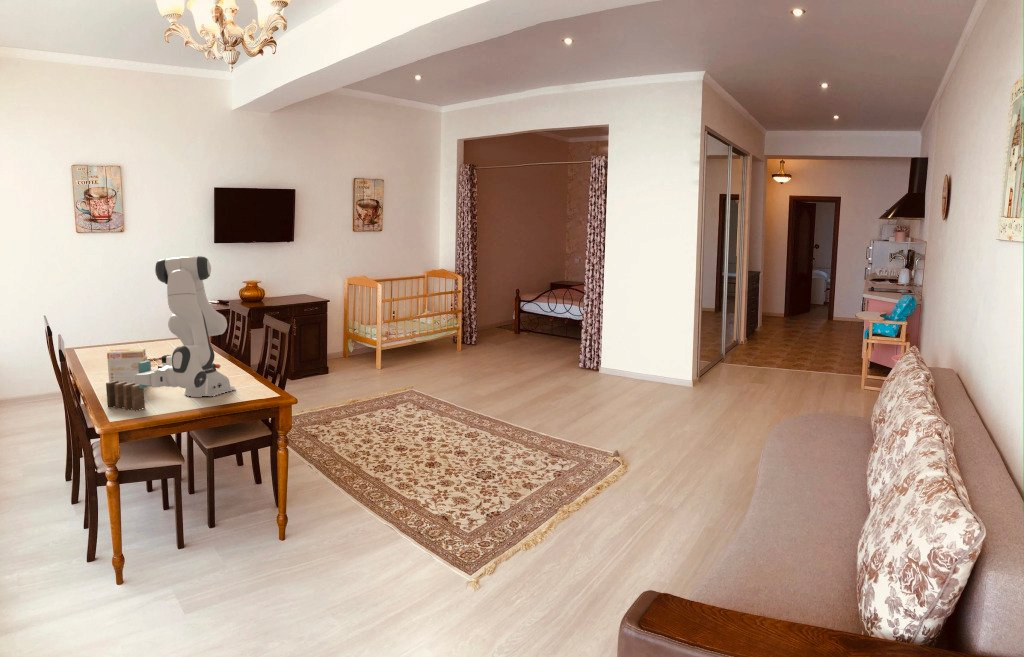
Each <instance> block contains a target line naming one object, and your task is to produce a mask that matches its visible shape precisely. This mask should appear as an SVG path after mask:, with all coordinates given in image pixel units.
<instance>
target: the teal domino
mask: <svg viewBox="0 0 1024 657" xmlns="http://www.w3.org/2000/svg"><path fill="white" fill-rule="evenodd" d="M151 363H152V362H151V360H149V361H144V362H140V363H138V369H139V372H140V373H143V372H147V371H151V369H152V367H151V366H152V364H151ZM139 387H140V388H146V387H148V388H149V387H152V385H151V386H148V385H141V384H139Z"/></svg>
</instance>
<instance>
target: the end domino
mask: <svg viewBox="0 0 1024 657" xmlns="http://www.w3.org/2000/svg"><path fill="white" fill-rule="evenodd" d="M116 383H119V382H118V381H112V382H109V381H108V382H105V388H106V402H107V408H108V407H112V408H115V407H116V401H115V387H114V384H116ZM114 406H115V407H114Z"/></svg>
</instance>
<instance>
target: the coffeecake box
mask: <svg viewBox="0 0 1024 657" xmlns="http://www.w3.org/2000/svg"><path fill="white" fill-rule="evenodd" d="M106 356H107V358H106V359H107V371H108V382H112V381H118V382H119V383H120V382H127V384H128V383H132V382H133V383H135V380H134V375H135V374H136V373H139V369H138V363H140V362H144V361H146V356H147V353H146V348H134V349H133V348H132V349H131V348H130V349H129V348H128V349H110V350H109V351H107V353H106ZM135 385H137V384H136V383H135ZM148 388H149V387H146V388H144V392H145V391H146V390H147V389H148Z"/></svg>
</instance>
